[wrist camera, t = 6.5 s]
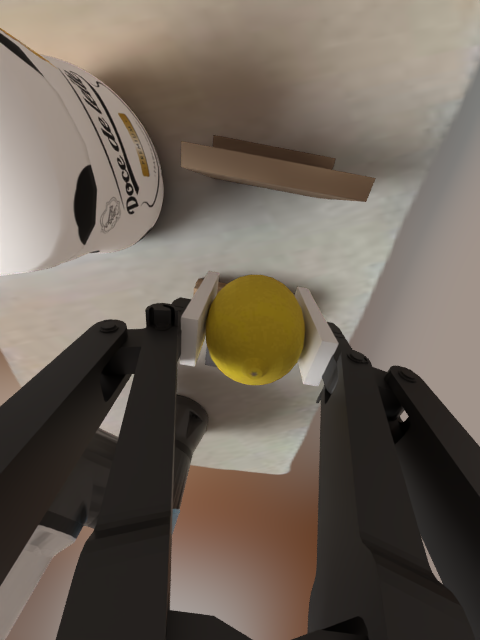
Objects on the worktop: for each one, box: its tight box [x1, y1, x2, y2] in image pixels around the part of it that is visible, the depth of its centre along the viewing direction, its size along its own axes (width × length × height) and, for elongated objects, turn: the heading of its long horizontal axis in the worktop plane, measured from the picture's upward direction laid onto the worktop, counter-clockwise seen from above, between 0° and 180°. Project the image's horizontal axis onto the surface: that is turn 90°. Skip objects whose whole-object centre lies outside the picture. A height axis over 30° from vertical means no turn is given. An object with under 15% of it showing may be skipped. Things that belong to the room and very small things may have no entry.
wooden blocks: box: [181, 135, 375, 296], centre depth 26 cm, size 23×16×14 cm
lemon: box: [206, 275, 305, 385], centre depth 13 cm, size 6×6×8 cm
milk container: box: [0, 28, 164, 276], centre depth 21 cm, size 17×17×18 cm
